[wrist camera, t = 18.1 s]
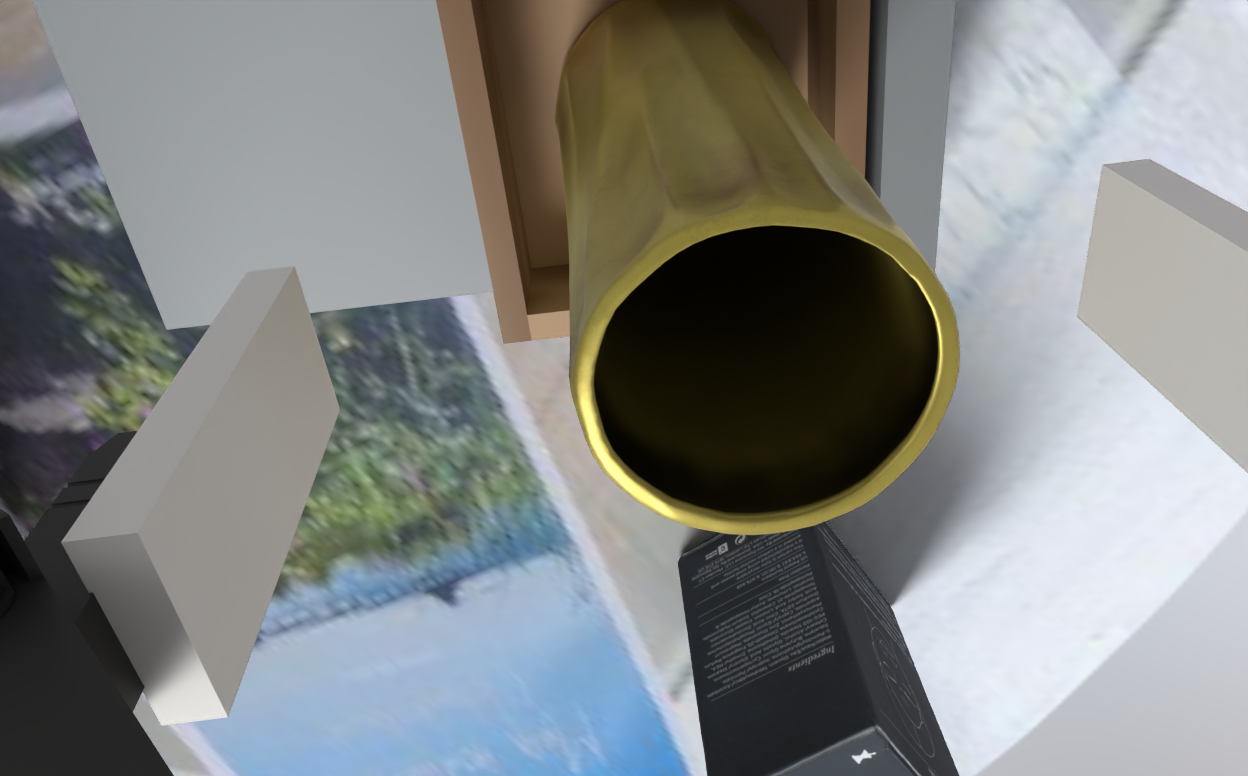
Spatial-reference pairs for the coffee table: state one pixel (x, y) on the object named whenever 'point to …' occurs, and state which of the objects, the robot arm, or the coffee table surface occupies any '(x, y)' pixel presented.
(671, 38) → the vase
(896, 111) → the board
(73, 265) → the coffee table surface
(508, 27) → the wooden tray
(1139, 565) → the coffee table surface
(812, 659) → the box
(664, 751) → the coffee table surface
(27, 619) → the robot arm
